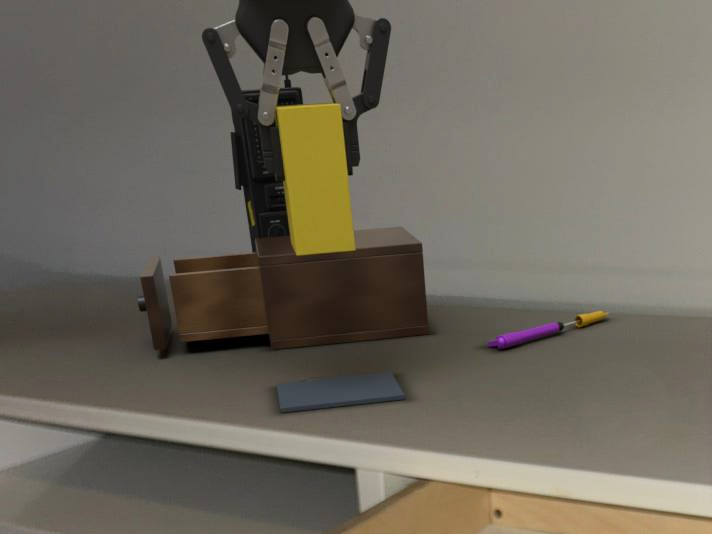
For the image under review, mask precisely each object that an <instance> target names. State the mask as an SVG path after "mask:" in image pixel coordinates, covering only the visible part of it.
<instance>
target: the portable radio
mask: <svg viewBox="0 0 712 534" xmlns="http://www.w3.org/2000/svg"><path fill="white" fill-rule="evenodd" d="M284 78H285V79H284V80H283V85H284V87H280V88H279V93H278V99H277V105H276V106H287V105H303V104H304V99H303V91H302V87H300V86H292V80H291V79H290V78H289V75H284ZM241 90H242V89H241ZM260 90H261V88H258V89H257V88H256V89H243V90H242V93H243V95H244V98H245V100H246V101H249V102H252V103H255V104H258V103H259V97H260ZM230 112H231V119H232V124H233V129H234V131H230V144H231V154H232V166H233V175H234V176H233V177H234V185H235V186H234V188H235V189H236V190H238V191H243V196H244V204H245V211H246V218H247V225H248V231H249V238H250V244H251V245H250V246H251V252H257V251H256V244H255V239H256V238H268V237H280V236H290V230H289V223H288V215H287V207H286V200H285V192H284V184H283V181H276V178H275V173H268V171H267V169H266V167H265V165H264V157H263V150H262V143H261V135H260V129H259V127H258V125H257V124H256V123H254V122H252V121H249V120H246V119H243V118H238V117H236V116H235V115H234V114H233V112H232V110H231V109H230Z"/></svg>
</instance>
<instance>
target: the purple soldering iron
mask: <svg viewBox="0 0 712 534" xmlns="http://www.w3.org/2000/svg"><path fill="white" fill-rule="evenodd" d="M605 316H610V311H608V312H607V311H606V312H603V311H602V310H597V311H593V312H589V313H581V314H578V315H576V316H575V317H574V320H573V321H571V322H567V323H563V322H561V321H557V322H551V323H548V324H544V325H540V326H536V327H531V328H529V329H524V330H521V331H513V332H508V333H504V334H501V335H497V336H495V339H493V340H490V341H487V347H488V348H492V347H496V346H497V349H498V350H503V349H507V348H510V347H514V346H517V345H518V346H519V345H521V343H524V342H528V341H532V340H536V339H540V338H542V337H547V336H550V335H555V334H558V332H562V331H563V330H564V329H565V327H568V326H572V325H575V326H576V328H582V327H586V326H588V325H589V324H593V323H598V322H600V321H603V320H604V319H605Z"/></svg>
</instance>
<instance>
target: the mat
mask: <svg viewBox="0 0 712 534" xmlns="http://www.w3.org/2000/svg"><path fill="white" fill-rule="evenodd" d="M275 386H276V391H277V399H278V403H279V410H280V413H282V414H283V413H292V412H303V411H310V410H312V411H313V410H321V409H329V408H339V407H348V406H349V407H350V406H357V405H366V404H376V403H384V402H394V401H404V400H406V396H405V393H404V391H403V389H402V388H401V386H400V384H399V382H398V381H397V379H396V378H395V376H394V374H393V372H392V371H384V372H374V373H364V374H356V375H355V374H354V375H347V376H337V377H336V376H335V377H326V378H318V379H308V380H297V381H289V382H278V383H276V384H275Z"/></svg>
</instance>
